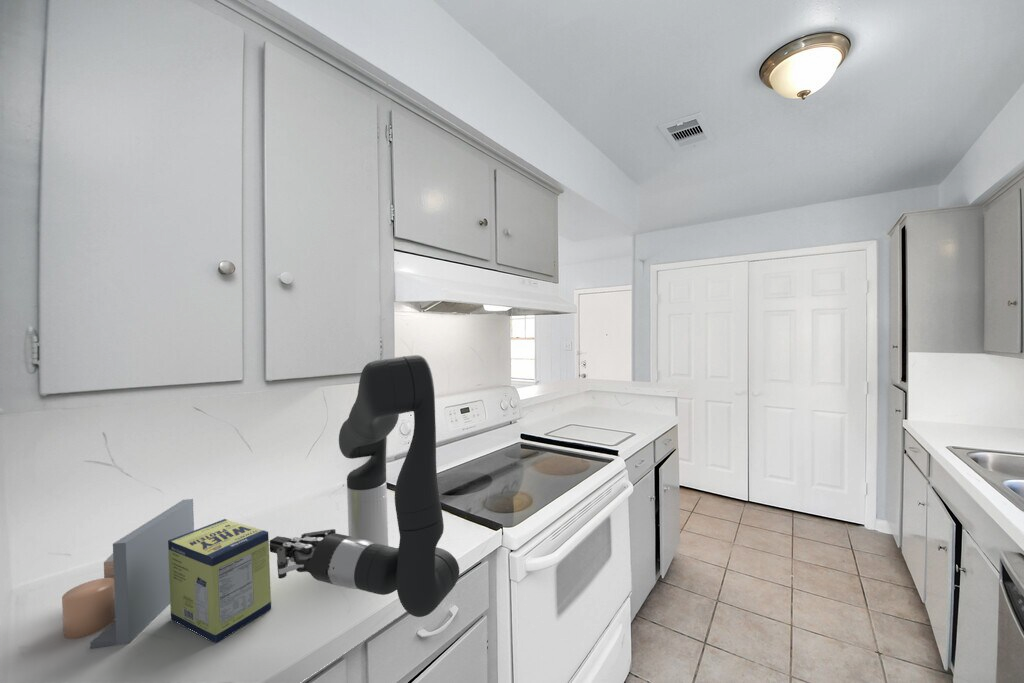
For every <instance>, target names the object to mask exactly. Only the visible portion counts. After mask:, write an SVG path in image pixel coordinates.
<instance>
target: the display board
mask: <svg viewBox="0 0 1024 683" xmlns="http://www.w3.org/2000/svg"><path fill="white" fill-rule="evenodd" d="M194 516H195V515H194V499H193V498H189V499H182V500H181V501H179V502H177V503H176V504H174V505H173V506H171V507H169V508H168V509H166V510H165V511H163V512H161V513H159V514H158V515H156V516H155V517H153V518H152V519H150V520H148V521H147V522H144V524H142V525H141V526H139V527H138V528H136V529H134V530H132V531H131V532H130V533H128V534H126V535H124V536H123V537H121V538H120V539H118V540H116V541H115V542H113V543H112V554H113V563H114V590H115V617H116V619H115V620H114V621H113V622H112V623H111V624H110V625H108V626H107V627H105V628H106V629H105V628H104V630H103V631H101V633H99V634H98V635H97V636H96V637H95V638H93V640H92V641H90V642H89V647H90V648H89V649H96V648H103V647H109V646H117V645H118V646H119V645H125V644H131V642H133V640H134V639H136V637H138V635H139V634H140V633H142V632H143V631H144V630H145V628H147V627H148V625H150V624H151V623H152V622H153V620H155V619H156V618H157V617H158V616H159V615H160V614H161V613H162V612H163V611H164V610H165V609H166V608H167V607H169V605H170V580H169V552H168V540H170V539H173V538H176V537H179V536H181V535H184V534H186V533H189V532H192V531H194V530H195V519H194V518H195V517H194ZM155 617H156V618H155ZM151 621H152V622H151ZM150 622H151V623H150Z"/></svg>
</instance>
